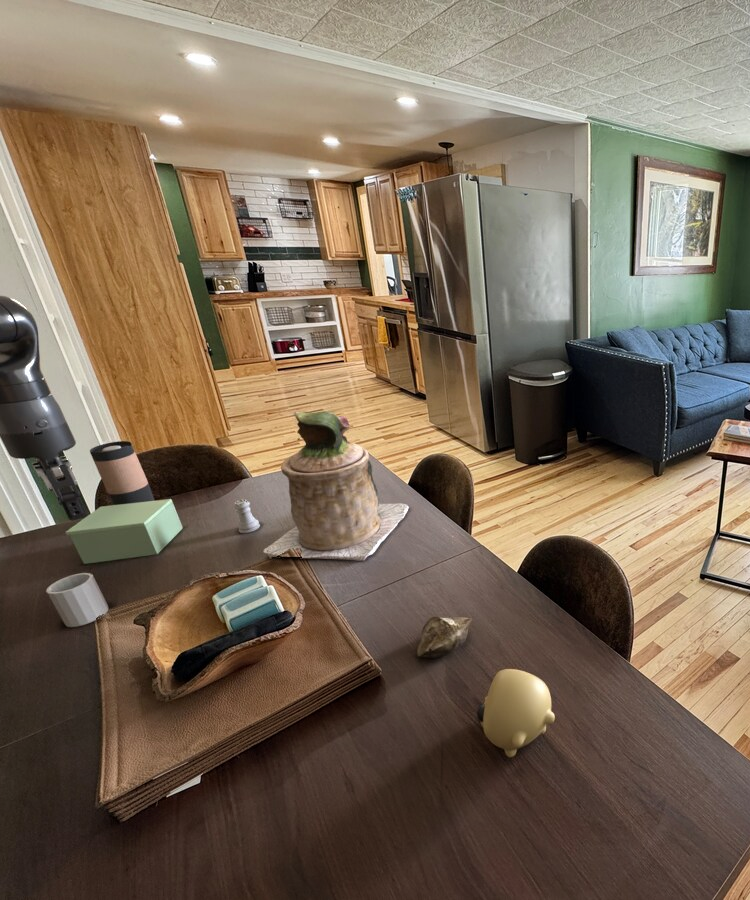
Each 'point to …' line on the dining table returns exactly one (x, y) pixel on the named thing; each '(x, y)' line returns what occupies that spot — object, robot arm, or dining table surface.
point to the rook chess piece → (246, 517)
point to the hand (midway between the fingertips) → (74, 510)
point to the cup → (77, 599)
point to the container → (129, 539)
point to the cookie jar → (333, 495)
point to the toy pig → (515, 710)
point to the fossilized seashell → (442, 636)
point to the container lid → (119, 517)
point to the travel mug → (121, 473)
